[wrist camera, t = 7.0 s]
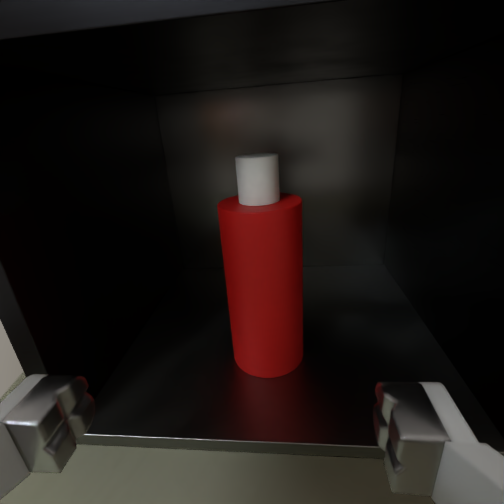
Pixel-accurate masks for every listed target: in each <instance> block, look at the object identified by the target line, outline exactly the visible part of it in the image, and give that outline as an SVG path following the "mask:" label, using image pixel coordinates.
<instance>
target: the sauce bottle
mask: <svg viewBox="0 0 504 504" xmlns="http://www.w3.org/2000/svg"><path fill="white" fill-rule="evenodd" d="M235 163H236V174H237V186H238V195H236V196H232V197H229V198H226V199H224V200H222V201H220V202H219V203H218V204H217V210H218V218H219V227H220V236H221V245H222V254H223V262H224V271H225V280H226V289H227V297H228V306H229V315H230V324H231V333H232V341H233V350H234V358H235V361H236V363H237V365H238V366H239V367H240V368H241V369H242V370H243V371H244V372H246V373H248V374H250V375H252V376H256V377H261V378H274V377H280V376H283V375H286V374H288V373H290V372H291V371H293V370H294V369H296V368H297V367H298V365H299V364H300V362H301V361H302V358H303V240H302V199H301V198H300V197H299V196H297V195H294V194H290V193H282V192H280V189H279V160H278V154H277V153H254V154H245V155H239V156H236V157H235Z"/></svg>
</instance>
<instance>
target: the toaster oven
mask: <svg viewBox="0 0 504 504" xmlns="http://www.w3.org/2000/svg"><path fill="white" fill-rule="evenodd" d="M254 153H277V154H278V160H279V189H280V192H282V193H290V194H294V195H297V196H299V197H300V198H301V199H302V240H303V358H302V361H301V362H300V364H299V365H298V367H297V368H296V369H294V370H293V371H291V372H290V373H288V374H286V375H283V376H280V377H274V378H261V377H256V376H252V375H250V374H248V373H246V372H244V371H243V370H242V369H241V368H240V367H239V366H238V365H237V363H236V361H235V358H234V350H233V341H232V333H231V324H230V315H229V306H228V297H227V289H226V280H225V271H224V262H223V254H222V245H221V236H220V227H219V218H218V210H217V204H218V203H219V202H220V201H222V200H224V199H226V198H229V197H232V196H236V195H238V186H237V174H236V163H235V157H236V156H239V155H245V154H254ZM0 320H1V322H2V324H3V326H4V329H5V331H6V333H7V335H8V338H9V340H10V342H11V344H12V346H13V349H14V351H15V353H16V355H17V357H18V359H19V361H20V364H21V366H22V368H23V371H24V373H25V375H26V377H28V376H30V375H33V374H44V375H49V374H52V375H72V376H82V377H85V378H86V380H87V383H88V385H89V387H88V389H87V391H86V392H87V393H88V394H90V395H91V396H92V397H93V399H94V402H95V415H94V419H93V422H92V424H91V426H90V428H89V429H88V431H87V433H86V434H84V435H83V436H81V437H80V438H79V439H77V440H76V444H88V445H109V446H130V447H152V448H173V449H194V450H215V451H236V452H257V453H278V454H299V455H320V456H341V457H362V458H384V457H385V452H384V451H383V450H382V449H381V448H380V447H379V446H378V442H377V439H376V435H375V429H374V421H373V410H374V405H375V404H376V403H377V402H378V400H377V397H376V394H375V390H376V385H377V382H440V383H442V384H443V385H444V386H445V388H446V390H447V391H448V393H449V394H450V396H451V398H452V399H453V401H454V403H455V404H456V406H457V407H458V409H459V411H460V412H461V414H462V416H463V417H464V419H465V421H466V422H467V424H468V425H469V427H470V429H471V430H472V432H473V434H474V435H475V437H476V439H477V440H478V442H479V443H487V444H488V445H489V446H491V447H492V448H493V449H495V450H496V451H497V452H499V453H500V454H501V455H503V456H504V0H0Z"/></svg>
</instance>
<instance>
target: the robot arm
mask: <svg viewBox="0 0 504 504" xmlns="http://www.w3.org/2000/svg"><path fill="white" fill-rule="evenodd" d="M88 387H89V385H88V383H87V380H86V378H85V377H82V376H72V375H52V374H49V375H44V374H33V375H30V376H28V377H26V378H25V379H24V380H23V381H22V382H21V383H20V384H19V385H18V386H17V387H16V388H15V389H14V390H13V391H12V392H11V393H10V394H9V395H8V396H7V397H6V398H5V399H4V400H3V401H2V402H1V403H0V500H1V499H2V498H3V497H4V496H5V495H7V494H8V493H9V492H10V491H11V490H13V489H14V488H15V487H16V486H17V485H18V484H20V483H21V482H22V481H23V480H24V479H25V478H27V477H28V476H29V475H30V472H35V473H61V472H62V470H63V469H64V467H65V466H66V464H67V462H68V461H69V459H70V458H71V456H72V455H73V453H74V451H75V450H76V440H77V439H79V438H80V437H81V436H83V435H84V434H86V433H87V431H88V429H89V428H90V426H91V424H92V422H93V419H94V415H95V402H94V399H93V397H92V396H91V395H90V394H88V393H87V392H86V391H87V389H88ZM375 394H376V397H377V400H378V402H377V403H376V404H375V405H374V410H373V421H374V429H375V435H376V439H377V442H378V446H379V447H380V448H381V449H382V450H383V451H384V452H385V457H384V467H385V470H386V473H387V477H388V480H389V483H390V487H391V490H392V493H397V494H409V495H420V496H431V497H432V498H431V499H432V500H433V501H434V502H435V503H436V504H504V456H503V455H501V454H500V453H499V452H497V451H496V450H495V449H493V448H492V447H491V446H489V445H488V444H487V443H479V442H478V440H477V439H476V437H475V435H474V434H473V432H472V430H471V429H470V427H469V425H468V424H467V422H466V421H465V419H464V417H463V416H462V414H461V412H460V411H459V409H458V407H457V406H456V404H455V403H454V401H453V399H452V398H451V396H450V394H449V393H448V391H447V390H446V388H445V386H444V385H443V384H442V383H440V382H377V385H376V390H375Z"/></svg>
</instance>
